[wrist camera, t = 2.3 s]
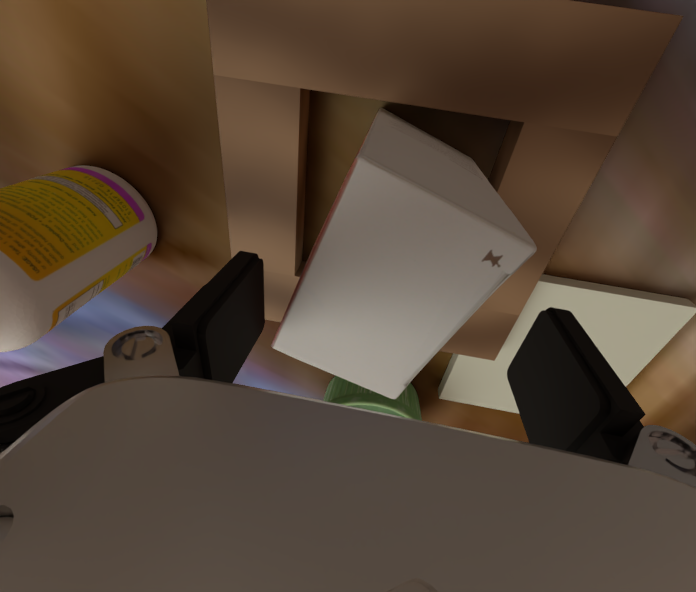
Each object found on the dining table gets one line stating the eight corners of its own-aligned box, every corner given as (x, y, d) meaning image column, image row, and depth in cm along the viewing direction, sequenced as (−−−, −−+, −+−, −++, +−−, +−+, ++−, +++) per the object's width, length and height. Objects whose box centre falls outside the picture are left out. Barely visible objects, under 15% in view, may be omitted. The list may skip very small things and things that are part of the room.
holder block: (224, -38, 14) (201, -51, 12) (649, 22, 13) (683, 15, 12) (247, 298, 25) (237, 314, 23) (488, 340, 24) (494, 360, 22)
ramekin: (444, 384, 27) (451, 432, 24) (392, 435, 32) (391, 481, 29) (347, 342, 26) (338, 386, 22) (308, 403, 31) (296, 446, 27)
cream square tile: (491, 265, 20) (495, 273, 20) (687, 298, 20) (699, 308, 19) (437, 388, 27) (438, 398, 27) (582, 415, 27) (588, 426, 26)
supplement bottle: (49, 150, 20) (-336, 240, 10) (154, 177, 20) (-112, 294, 10) (78, 246, 24) (-172, 384, 13) (167, 268, 24) (-13, 423, 14)
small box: (380, 104, 16) (358, 143, 8) (474, 157, 17) (548, 246, 9) (320, 235, 21) (265, 350, 12) (397, 272, 22) (395, 405, 13)
